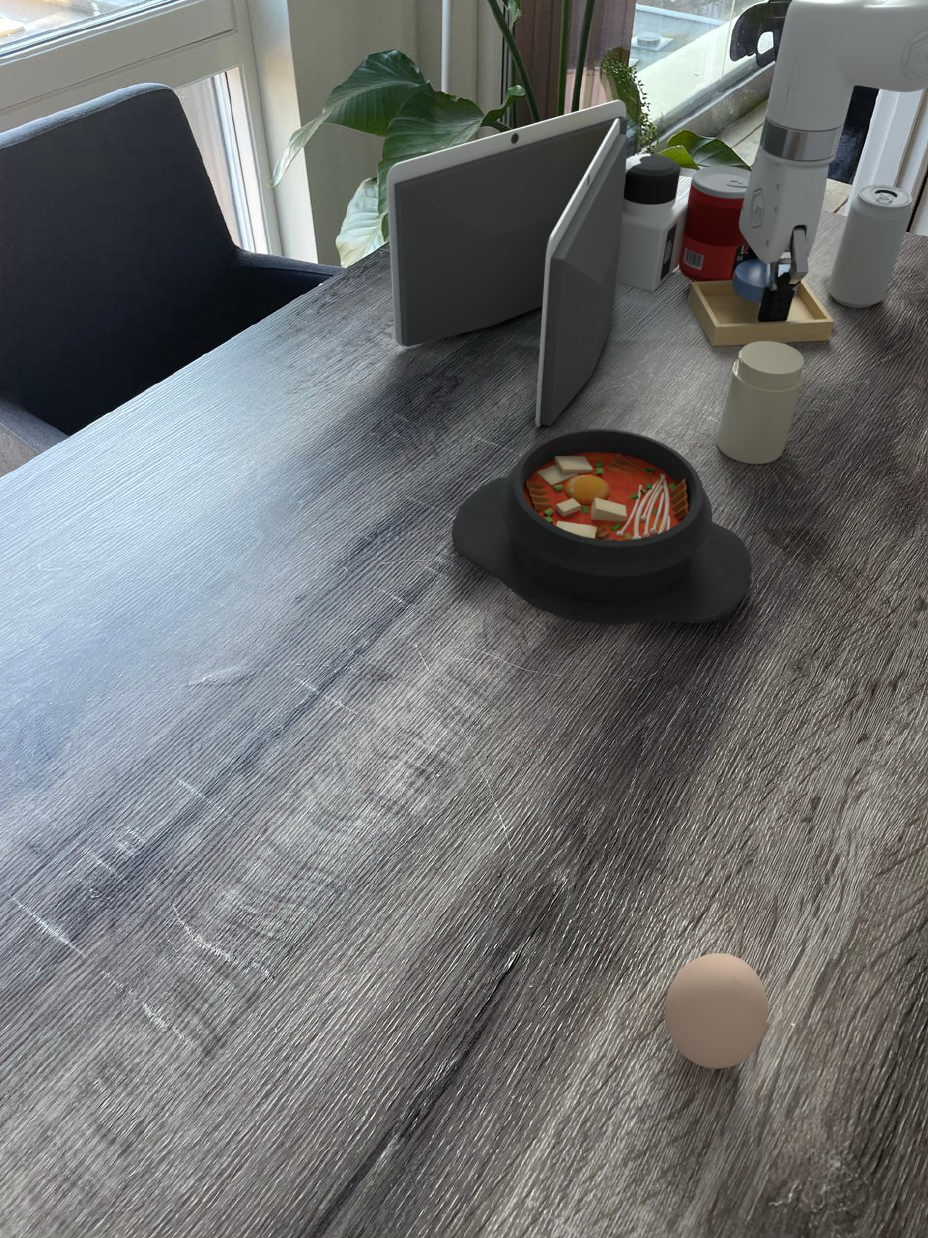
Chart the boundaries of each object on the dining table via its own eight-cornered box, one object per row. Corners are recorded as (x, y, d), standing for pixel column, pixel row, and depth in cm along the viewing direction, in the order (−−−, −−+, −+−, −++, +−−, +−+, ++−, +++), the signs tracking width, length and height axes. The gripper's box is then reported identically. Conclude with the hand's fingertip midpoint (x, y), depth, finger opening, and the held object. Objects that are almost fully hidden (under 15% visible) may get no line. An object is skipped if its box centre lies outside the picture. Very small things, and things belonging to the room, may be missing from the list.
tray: (797, 295, 117) (802, 276, 115) (828, 340, 110) (834, 321, 108) (687, 300, 116) (690, 281, 114) (711, 346, 109) (715, 327, 107)
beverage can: (886, 290, 118) (920, 188, 109) (877, 315, 114) (912, 211, 105) (831, 279, 119) (860, 177, 111) (820, 303, 115) (850, 200, 107)
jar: (771, 423, 99) (794, 336, 92) (792, 462, 94) (819, 374, 87) (708, 426, 98) (727, 340, 91) (726, 466, 94) (748, 378, 87)
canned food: (744, 288, 118) (765, 194, 110) (676, 282, 119) (692, 189, 111) (742, 258, 123) (762, 167, 115) (677, 253, 124) (692, 162, 116)
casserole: (764, 531, 87) (787, 452, 81) (721, 681, 75) (745, 602, 69) (496, 465, 93) (499, 387, 87) (417, 593, 81) (414, 514, 75)
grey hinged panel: (573, 438, 97) (593, 243, 83) (361, 402, 100) (346, 210, 86) (630, 273, 120) (654, 99, 106) (457, 250, 124) (457, 79, 110)
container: (678, 266, 121) (697, 156, 111) (653, 293, 116) (670, 180, 107) (620, 251, 123) (633, 142, 114) (593, 276, 119) (605, 164, 109)
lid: (725, 296, 109) (728, 281, 108) (740, 269, 113) (743, 253, 112) (789, 309, 107) (793, 293, 106) (801, 280, 111) (805, 265, 110)
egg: (743, 997, 58) (776, 930, 52) (756, 1091, 54) (793, 1031, 49) (652, 991, 58) (674, 923, 52) (659, 1085, 55) (683, 1024, 49)
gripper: (737, 106, 104) (706, 268, 117) (792, 173, 92) (751, 346, 105) (806, 104, 105) (768, 266, 118) (870, 170, 93) (820, 342, 106)
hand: (761, 302), depth 111 cm, fingers closed on lid, 6 cm apart
